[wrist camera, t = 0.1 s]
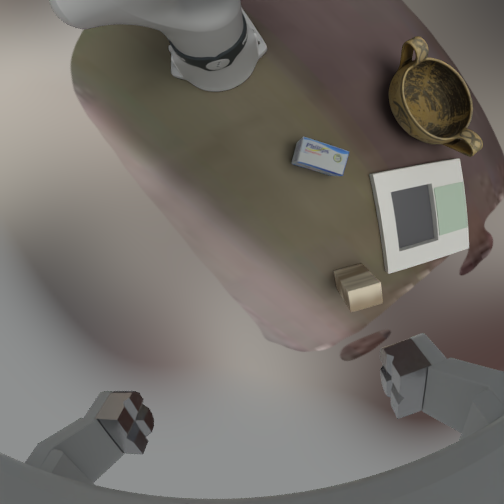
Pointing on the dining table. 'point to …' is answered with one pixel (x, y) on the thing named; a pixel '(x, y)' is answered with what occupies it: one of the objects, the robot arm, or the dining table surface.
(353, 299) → the birch block
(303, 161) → the medicine box
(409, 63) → the ceramic bowl
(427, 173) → the hole board
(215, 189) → the dining table surface
